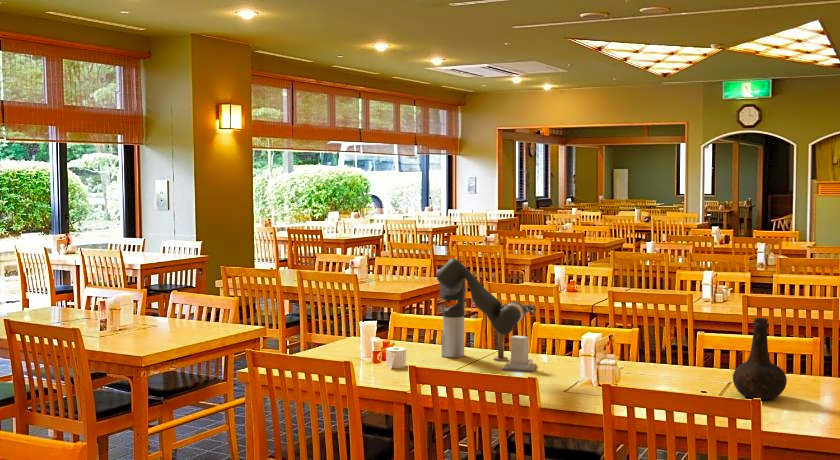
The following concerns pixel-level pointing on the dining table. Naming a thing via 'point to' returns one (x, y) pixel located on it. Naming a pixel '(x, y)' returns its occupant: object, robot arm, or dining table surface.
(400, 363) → the toilet paper
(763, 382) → the glass bottle
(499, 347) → the stand post
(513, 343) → the skincare box
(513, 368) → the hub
